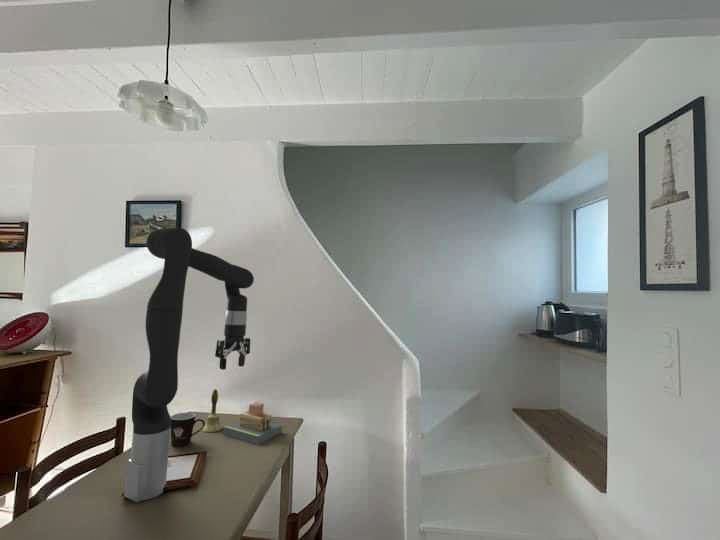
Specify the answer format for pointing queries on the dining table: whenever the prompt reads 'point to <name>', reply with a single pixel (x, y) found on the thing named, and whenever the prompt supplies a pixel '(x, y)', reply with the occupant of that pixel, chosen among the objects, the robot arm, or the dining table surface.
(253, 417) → the tan boxy piece
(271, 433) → the dock
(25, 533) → the dining table surface
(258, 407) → the block
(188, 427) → the coffee mug
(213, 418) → the hand bell
